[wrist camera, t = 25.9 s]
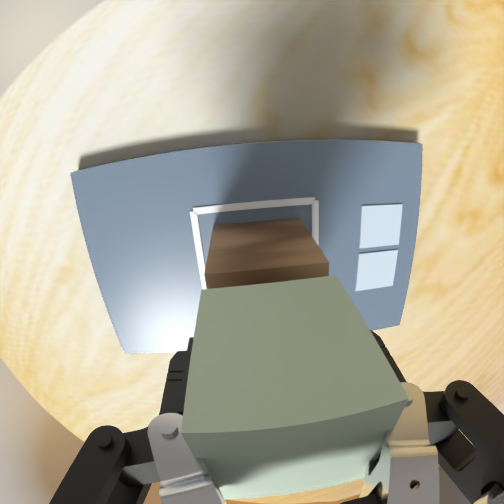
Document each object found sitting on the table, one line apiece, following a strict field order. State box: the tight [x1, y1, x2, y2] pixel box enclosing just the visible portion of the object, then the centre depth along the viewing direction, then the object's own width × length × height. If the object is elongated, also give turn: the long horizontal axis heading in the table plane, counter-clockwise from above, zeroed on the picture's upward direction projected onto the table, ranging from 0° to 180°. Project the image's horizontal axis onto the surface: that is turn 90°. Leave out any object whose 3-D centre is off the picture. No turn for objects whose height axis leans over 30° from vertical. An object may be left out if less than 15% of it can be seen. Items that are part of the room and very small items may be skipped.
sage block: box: [181, 275, 409, 499], centre depth 9 cm, size 5×5×6 cm
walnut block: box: [204, 218, 329, 289], centre depth 15 cm, size 5×5×6 cm
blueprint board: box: [71, 139, 422, 353], centre depth 18 cm, size 22×14×1 cm, turn 94°
